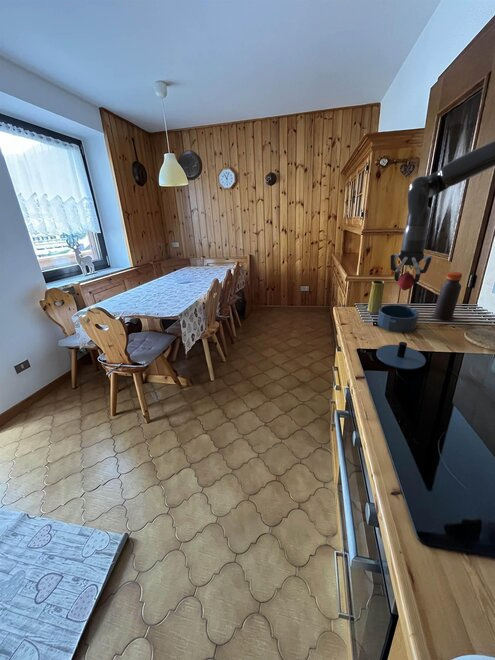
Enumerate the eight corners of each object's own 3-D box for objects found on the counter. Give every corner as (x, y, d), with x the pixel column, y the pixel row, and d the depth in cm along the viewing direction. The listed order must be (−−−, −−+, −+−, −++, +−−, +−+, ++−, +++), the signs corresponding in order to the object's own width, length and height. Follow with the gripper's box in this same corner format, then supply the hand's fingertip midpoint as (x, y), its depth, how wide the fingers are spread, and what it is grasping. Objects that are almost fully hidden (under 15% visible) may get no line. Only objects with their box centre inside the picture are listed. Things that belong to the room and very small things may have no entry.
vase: (378, 308, 137) (383, 279, 130) (382, 313, 131) (387, 283, 125) (365, 308, 138) (369, 280, 131) (369, 313, 132) (373, 284, 126)
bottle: (434, 313, 128) (446, 270, 119) (452, 317, 124) (466, 272, 115) (432, 319, 123) (443, 274, 114) (450, 322, 119) (464, 276, 110)
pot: (419, 320, 123) (422, 306, 120) (409, 339, 109) (413, 324, 106) (384, 313, 131) (386, 300, 128) (371, 330, 117) (373, 316, 114)
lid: (428, 354, 99) (432, 339, 96) (420, 376, 89) (425, 360, 86) (382, 343, 108) (385, 329, 105) (370, 362, 97) (373, 347, 94)
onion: (415, 292, 110) (419, 272, 106) (400, 293, 110) (404, 273, 106) (408, 287, 115) (412, 268, 111) (393, 288, 115) (397, 269, 112)
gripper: (390, 238, 105) (384, 282, 112) (435, 240, 97) (425, 287, 104) (395, 235, 110) (388, 277, 118) (438, 236, 102) (428, 281, 109)
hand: (406, 281), depth 111 cm, fingers closed on onion, 6 cm apart
